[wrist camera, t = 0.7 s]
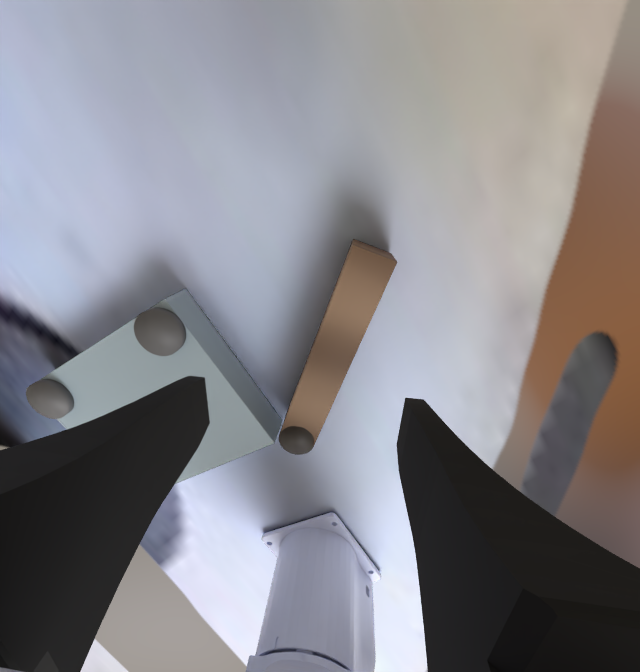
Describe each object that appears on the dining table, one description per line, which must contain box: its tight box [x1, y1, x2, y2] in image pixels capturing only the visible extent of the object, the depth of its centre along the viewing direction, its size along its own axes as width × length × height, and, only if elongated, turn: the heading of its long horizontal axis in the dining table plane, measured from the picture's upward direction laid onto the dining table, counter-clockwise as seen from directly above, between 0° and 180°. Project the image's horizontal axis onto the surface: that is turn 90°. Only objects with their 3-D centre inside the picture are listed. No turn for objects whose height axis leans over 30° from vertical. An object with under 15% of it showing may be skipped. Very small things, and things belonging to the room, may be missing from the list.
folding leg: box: [279, 239, 397, 455], centre depth 20 cm, size 14×2×3 cm, turn 161°
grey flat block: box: [26, 289, 282, 484], centre depth 23 cm, size 12×14×3 cm
